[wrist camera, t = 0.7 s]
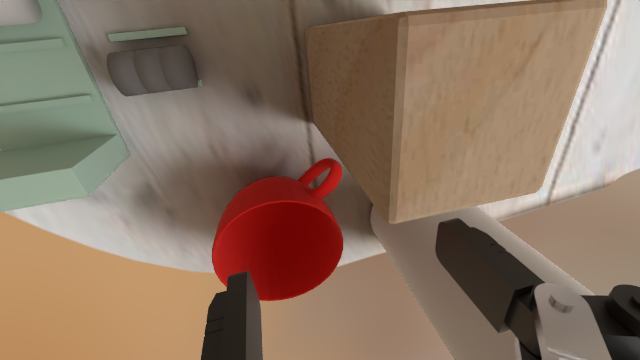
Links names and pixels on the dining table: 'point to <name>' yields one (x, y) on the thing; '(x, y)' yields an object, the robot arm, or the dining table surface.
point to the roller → (152, 70)
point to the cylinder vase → (442, 290)
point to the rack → (149, 36)
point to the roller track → (49, 111)
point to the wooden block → (449, 99)
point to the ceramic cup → (281, 234)
